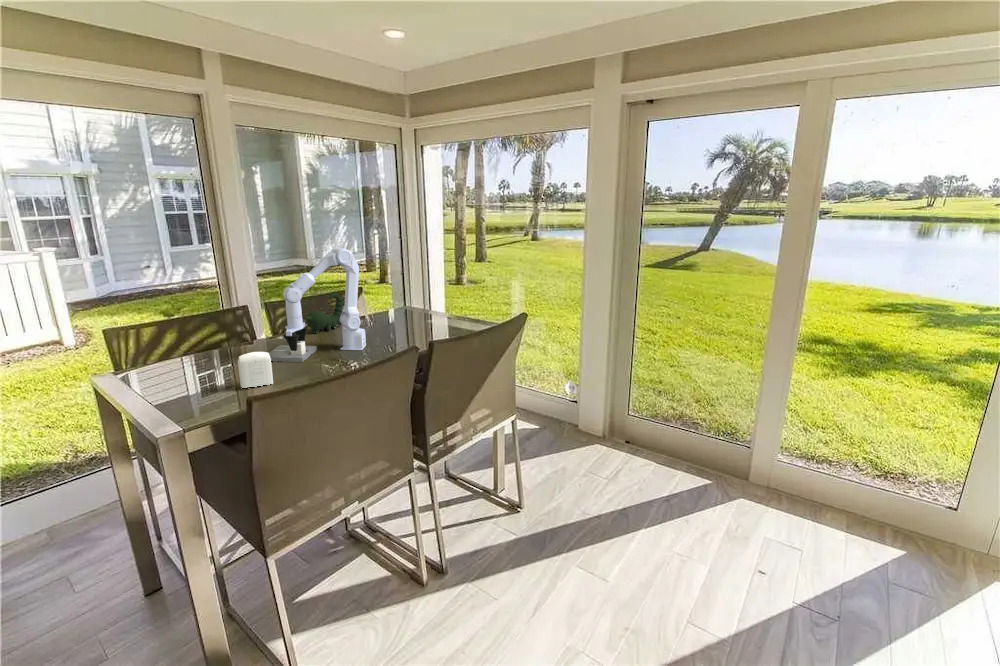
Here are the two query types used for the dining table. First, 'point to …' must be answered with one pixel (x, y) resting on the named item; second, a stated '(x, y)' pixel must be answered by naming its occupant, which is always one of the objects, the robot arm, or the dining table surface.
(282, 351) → the socket plate
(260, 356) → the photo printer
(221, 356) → the dining table surface
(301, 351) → the block
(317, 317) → the toy figurine
